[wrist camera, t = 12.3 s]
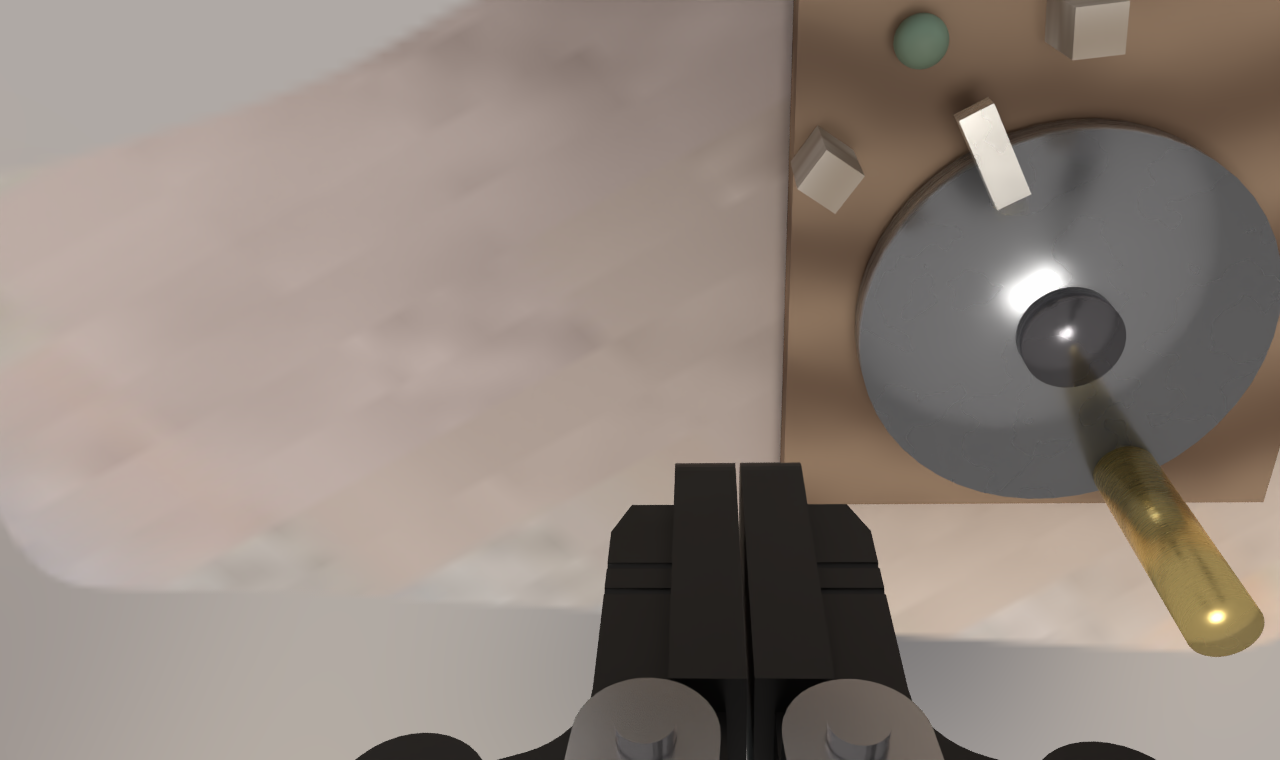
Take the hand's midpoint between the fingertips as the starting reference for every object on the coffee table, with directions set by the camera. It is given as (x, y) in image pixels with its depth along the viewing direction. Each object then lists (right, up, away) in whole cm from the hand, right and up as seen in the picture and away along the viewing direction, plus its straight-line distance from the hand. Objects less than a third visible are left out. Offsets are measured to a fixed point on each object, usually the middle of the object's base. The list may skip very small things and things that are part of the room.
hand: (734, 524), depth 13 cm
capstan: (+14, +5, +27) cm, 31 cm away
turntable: (+15, +7, +28) cm, 33 cm away
